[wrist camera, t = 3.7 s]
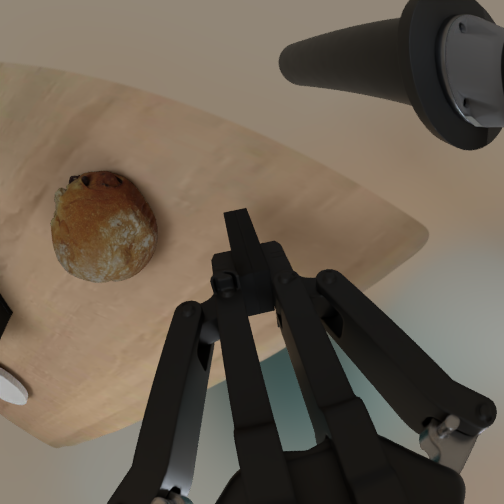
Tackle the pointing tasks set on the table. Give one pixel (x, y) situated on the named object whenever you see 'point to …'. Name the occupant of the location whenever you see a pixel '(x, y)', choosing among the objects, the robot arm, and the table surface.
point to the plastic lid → (12, 389)
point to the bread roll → (102, 228)
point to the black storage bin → (4, 315)
